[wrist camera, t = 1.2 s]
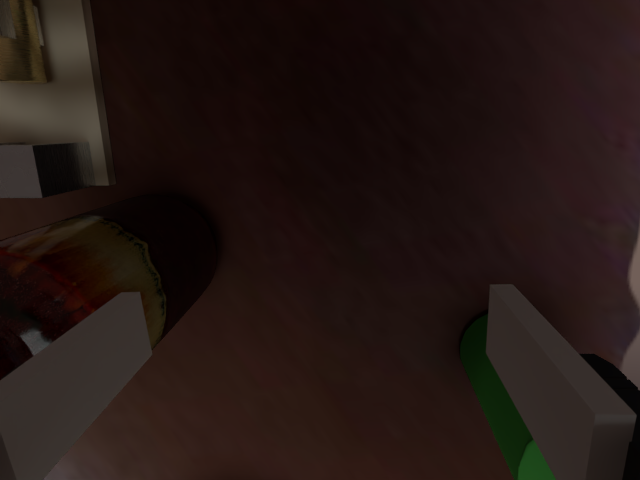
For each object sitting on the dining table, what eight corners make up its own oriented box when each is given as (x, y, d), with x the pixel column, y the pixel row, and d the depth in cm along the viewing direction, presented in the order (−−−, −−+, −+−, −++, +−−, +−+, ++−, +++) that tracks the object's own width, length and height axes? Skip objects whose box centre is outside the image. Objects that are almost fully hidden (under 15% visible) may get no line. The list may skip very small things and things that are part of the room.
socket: (13, 142, 38) (-59, 145, 31) (88, 141, 37) (32, 145, 30) (22, 185, 39) (-46, 197, 32) (95, 185, 38) (42, 197, 32)
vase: (182, 166, 38) (-148, 246, 13) (248, 262, 40) (73, 487, 15) (97, 225, 40) (-319, 388, 15) (164, 312, 43) (-108, 580, 18)
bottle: (457, 306, 40) (614, 583, 16) (550, 302, 39) (868, 588, 15) (457, 384, 42) (594, 728, 18) (545, 382, 41) (812, 740, 17)
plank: (-30, -51, 34) (-43, -58, 33) (81, -57, 34) (71, -63, 32) (19, 183, 40) (9, 185, 39) (116, 183, 39) (109, 185, 38)
